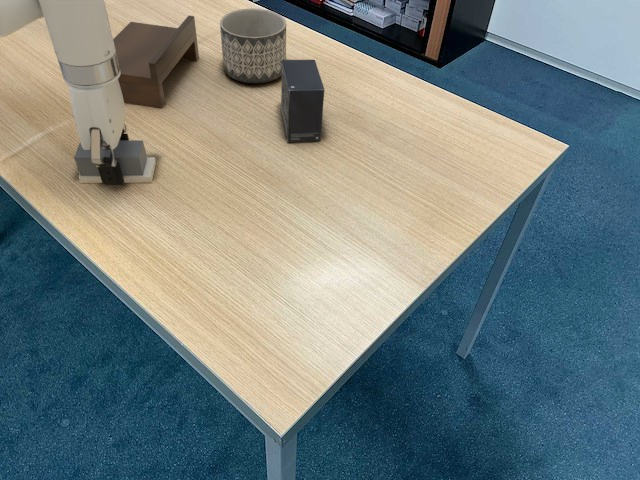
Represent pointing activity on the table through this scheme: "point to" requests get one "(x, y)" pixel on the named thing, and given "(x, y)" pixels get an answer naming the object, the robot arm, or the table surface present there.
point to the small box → (301, 100)
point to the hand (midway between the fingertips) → (117, 167)
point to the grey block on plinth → (129, 157)
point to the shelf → (152, 58)
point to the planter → (253, 45)
